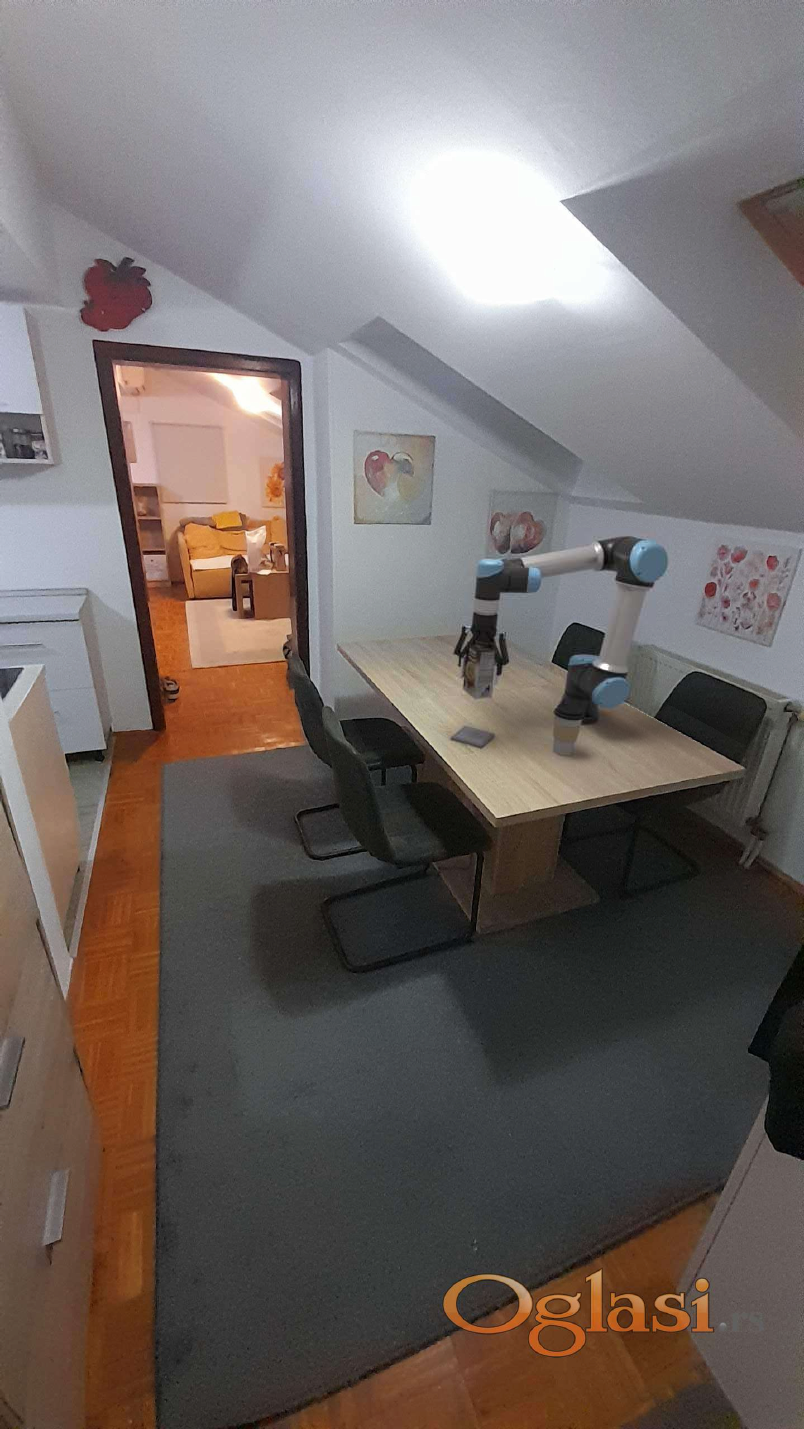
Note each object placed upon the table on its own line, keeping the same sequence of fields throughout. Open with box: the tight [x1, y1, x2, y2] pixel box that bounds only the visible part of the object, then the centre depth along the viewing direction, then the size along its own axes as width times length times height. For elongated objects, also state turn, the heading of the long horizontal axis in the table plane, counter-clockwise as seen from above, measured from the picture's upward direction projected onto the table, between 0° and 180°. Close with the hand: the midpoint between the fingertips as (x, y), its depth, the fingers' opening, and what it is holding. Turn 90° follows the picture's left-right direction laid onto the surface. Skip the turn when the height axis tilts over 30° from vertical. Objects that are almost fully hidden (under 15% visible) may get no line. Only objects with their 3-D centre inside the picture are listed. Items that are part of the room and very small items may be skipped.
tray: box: [450, 725, 495, 749], centre depth 194 cm, size 11×11×1 cm
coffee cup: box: [552, 704, 585, 756], centre depth 185 cm, size 9×9×15 cm
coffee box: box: [462, 641, 499, 700], centre depth 185 cm, size 9×6×16 cm
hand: (478, 680), depth 186 cm, fingers closed on coffee box, 10 cm apart
